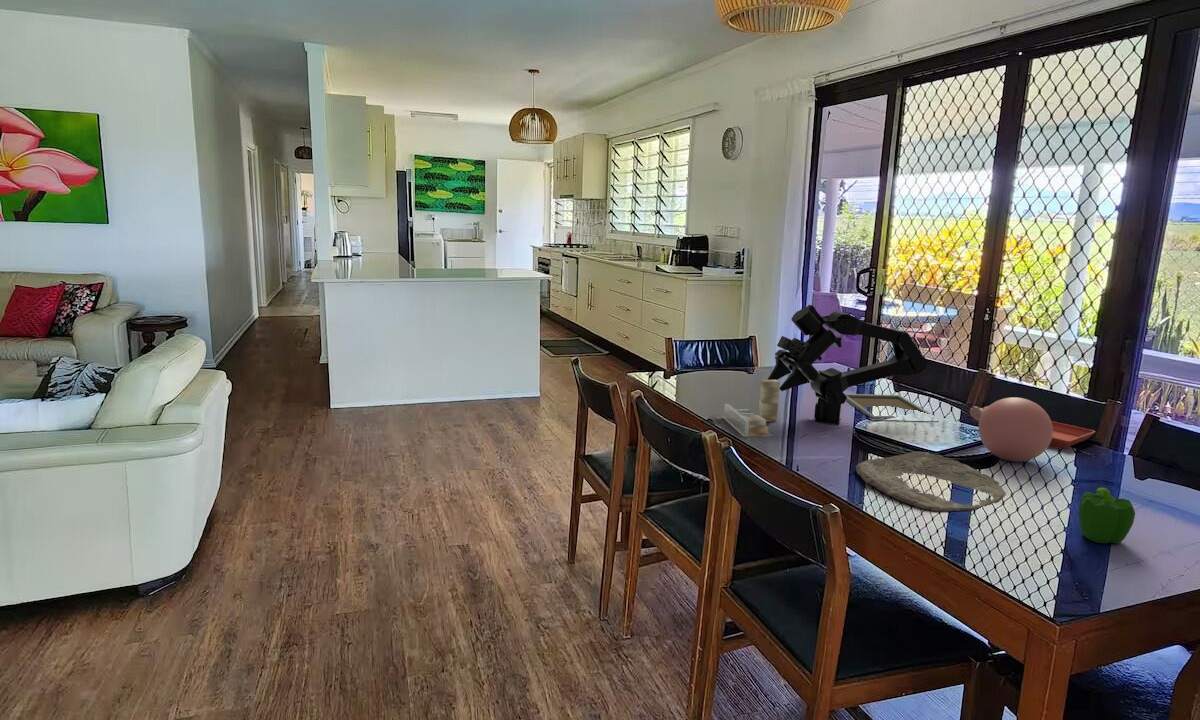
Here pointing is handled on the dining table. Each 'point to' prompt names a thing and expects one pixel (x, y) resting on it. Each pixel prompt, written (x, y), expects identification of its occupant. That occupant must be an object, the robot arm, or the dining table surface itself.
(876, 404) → the picture frame
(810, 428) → the dining table surface
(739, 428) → the offcut rack
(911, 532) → the dining table surface
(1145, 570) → the dining table surface
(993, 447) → the balloon
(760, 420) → the offcut pile
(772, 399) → the beige wooden block
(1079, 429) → the plant saucer
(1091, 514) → the bell pepper
